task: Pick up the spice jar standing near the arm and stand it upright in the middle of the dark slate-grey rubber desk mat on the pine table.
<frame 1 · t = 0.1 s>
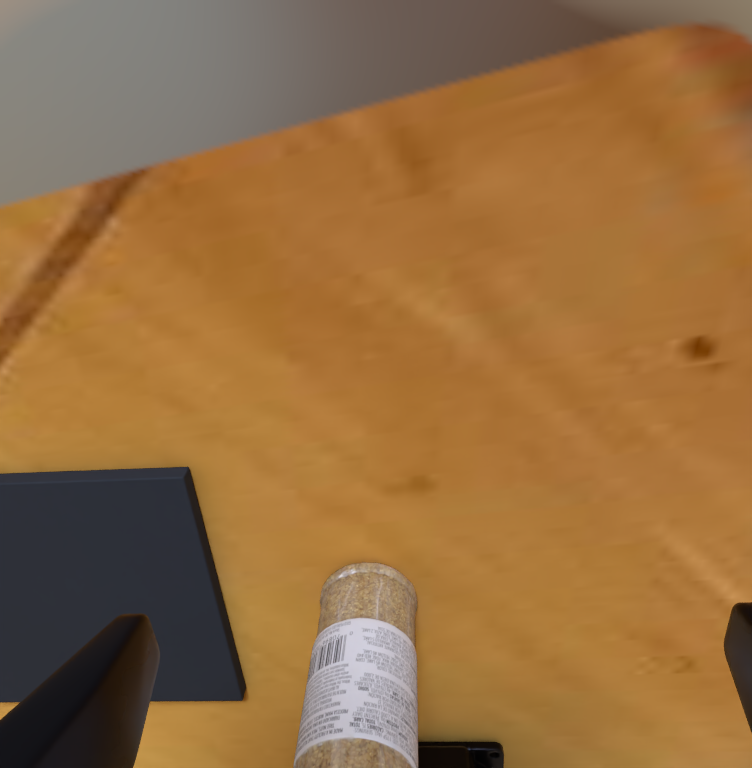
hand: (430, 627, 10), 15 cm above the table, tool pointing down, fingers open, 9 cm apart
spice jar: (369, 590, 30), on the table
desk mat: (19, 592, 31), on the table
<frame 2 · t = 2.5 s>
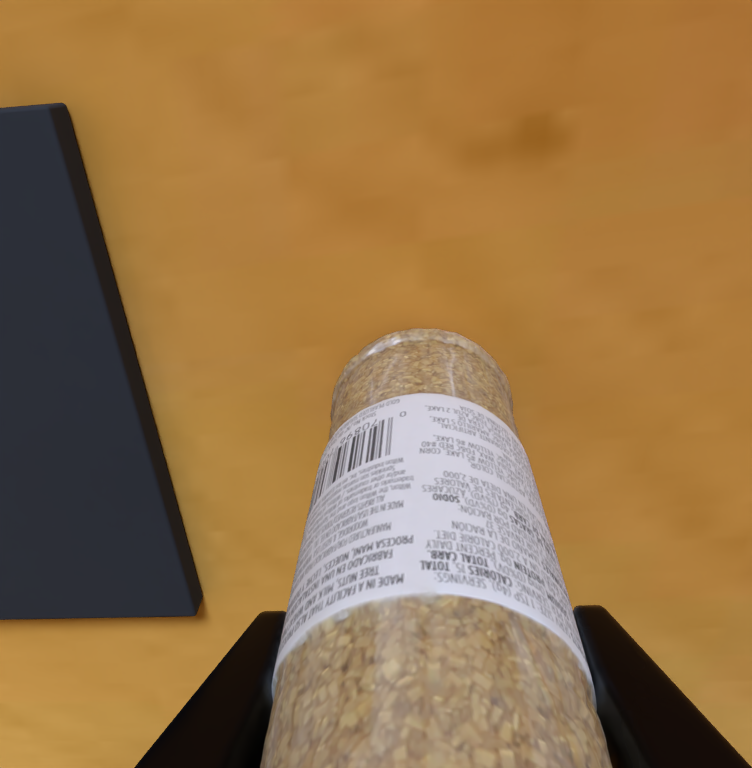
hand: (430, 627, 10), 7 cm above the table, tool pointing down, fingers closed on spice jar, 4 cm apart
spice jar: (422, 399, 16), on the table, touching gripper
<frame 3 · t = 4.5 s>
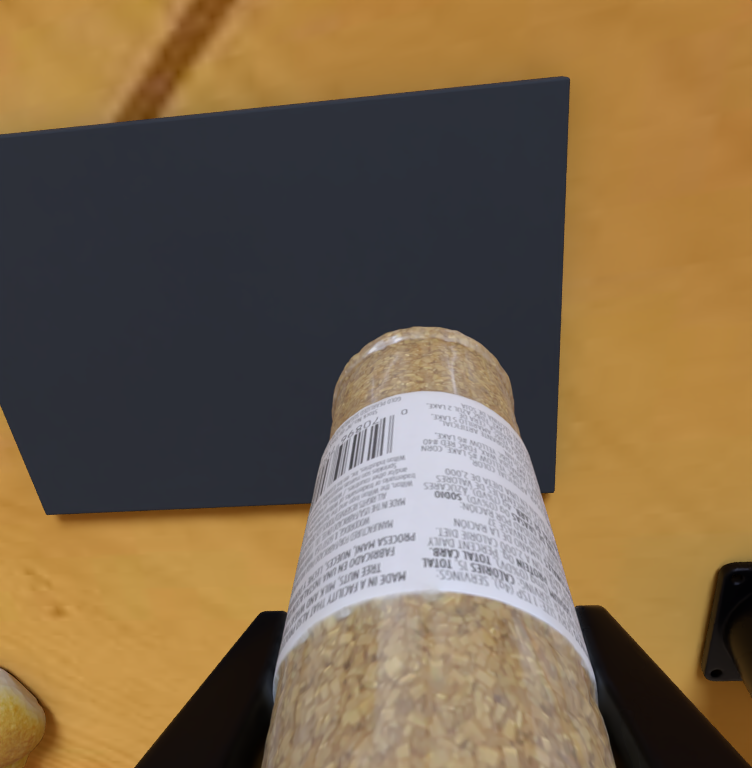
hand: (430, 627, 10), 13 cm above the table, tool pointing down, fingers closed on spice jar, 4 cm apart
spice jar: (423, 397, 16), point 6 cm above the table, touching gripper
desk mat: (262, 329, 22), on the table
when the fingers open (8 cm above the table, at t = 6.5 s): spice jar stays where it is, resting on desk mat.
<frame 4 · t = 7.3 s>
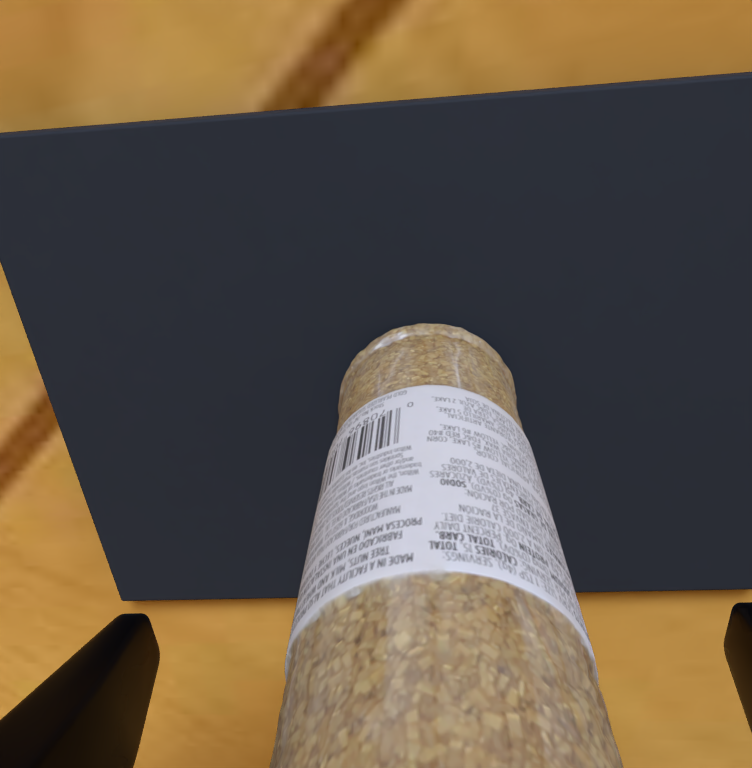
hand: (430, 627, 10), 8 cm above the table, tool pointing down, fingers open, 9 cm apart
spice jar: (427, 393, 17), point 1 cm above the table, touching desk mat
desk mat: (423, 383, 17), on the table
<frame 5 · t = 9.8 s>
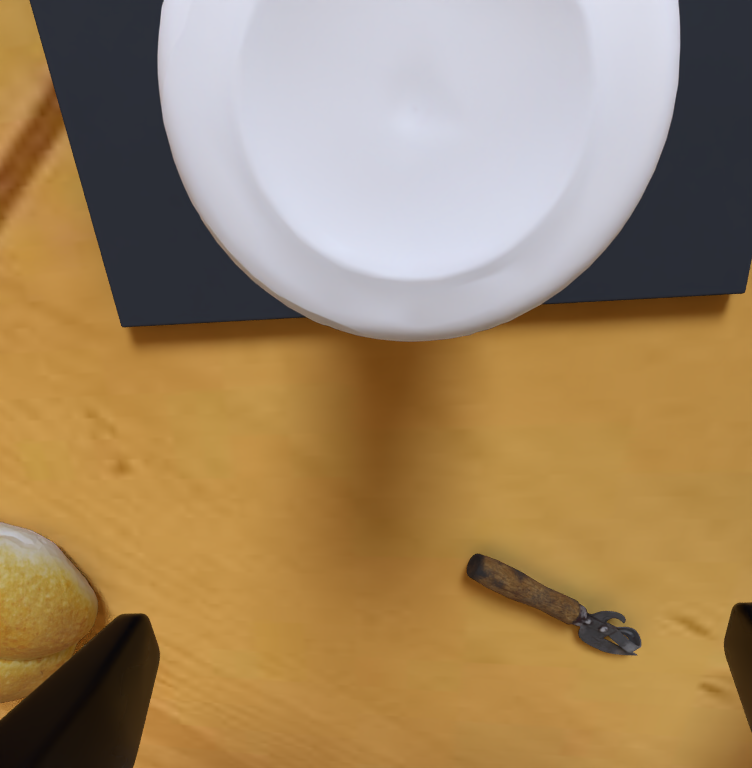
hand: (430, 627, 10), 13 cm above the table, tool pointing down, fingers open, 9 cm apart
spice jar: (412, 68, 17), point 1 cm above the table, touching desk mat
bread roll: (9, 587, 29), on the table
can opener: (553, 596, 27), on the table
desk mat: (409, 68, 18), on the table
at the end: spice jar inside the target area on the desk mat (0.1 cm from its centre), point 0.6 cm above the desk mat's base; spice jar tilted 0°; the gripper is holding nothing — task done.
